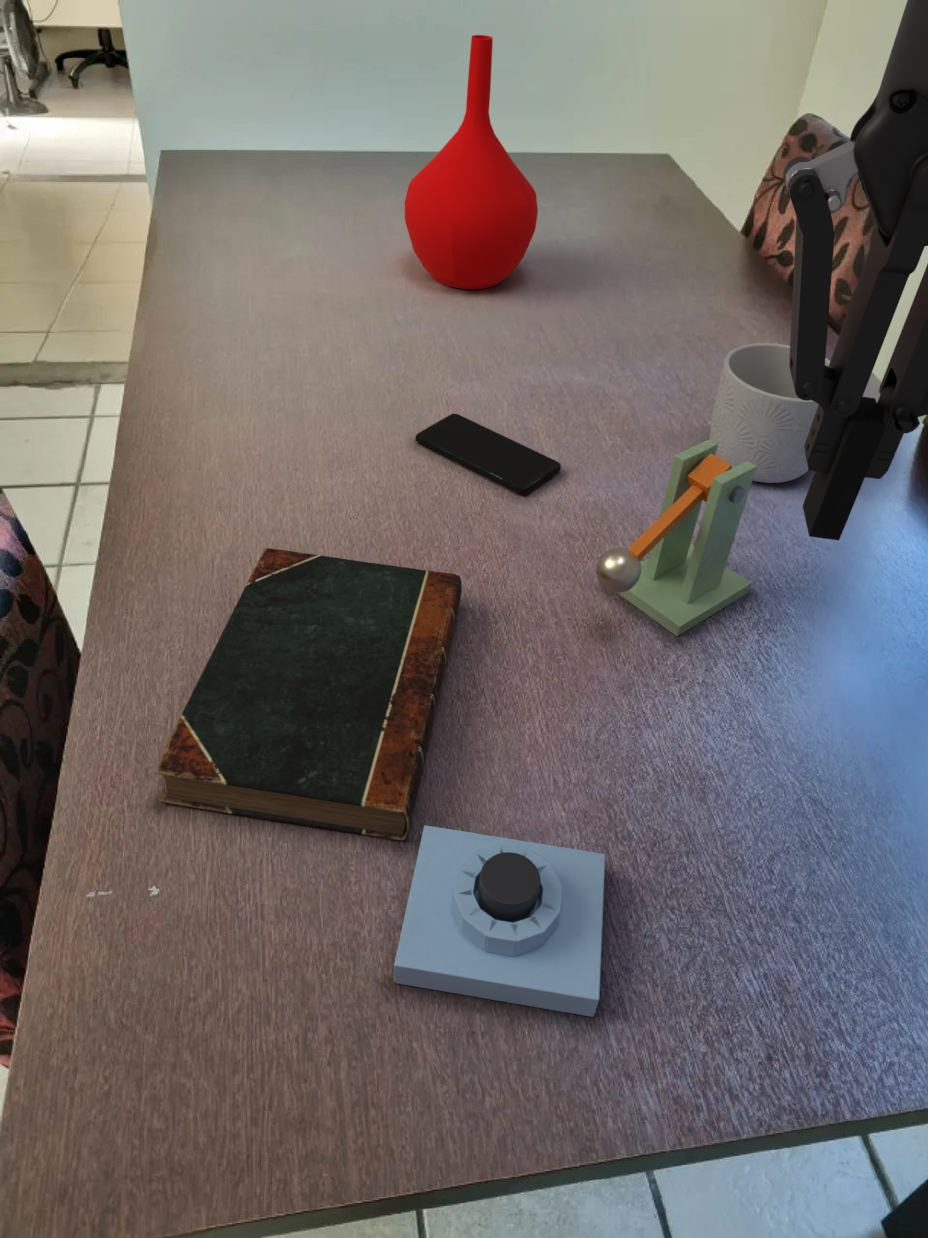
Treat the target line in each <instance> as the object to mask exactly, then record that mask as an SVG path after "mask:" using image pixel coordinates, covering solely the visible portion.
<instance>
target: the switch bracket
mask: <svg viewBox="0 0 928 1238" xmlns="http://www.w3.org/2000/svg"><path fill="white" fill-rule="evenodd" d="M717 446H718V444H717V443H715V442H713V441H711V440H710V439H706V440H704V441H702V442H700V443H698V444H696V445H693V446H691V447H689V448H687V449H684V450H683V451H680V452H679V453H677V454H675V455H674V457H673V461H672V465H671V470H670V473H669V478H668V482H667V486H666V488H665V489H666V490H665V494H664V498H663V502H662V507H661V509H660V514H659V518H660V517H661V516H662V515H663V514H664V513H665V512H666V511H667V510H668V509H669V508H670V507H671V506H672V505H673V504H674V503H675V502H676V501H677V500H678V499H679V498H680V497H681V496H682V495H683V494H684V493H685V492H686V491H687V490H688V489H689V488H690V486H689V480H688V475H689V474H690V473H691V472H692V471H693V470H694V469H695V468H696V467H697V466H698V465H699V464H700V463H701V462H702V461H703V460H704V459H705V458H706V457H707V456H708V455H709V454H710V453H711V454H713V455H715V454H716V450H717ZM756 468H757V466H756V465H754V464H752V463H750V462H749V461H746V462H744V463H742V464H740V465H738V466H736V467H734V468H732V469H730V470H728V471H726V472H724V473H722V474H720V475H718V476H716V477H714V478H713V481H712V485H711V488H710V492H709V495H708V499H707V502H705V506H704V509H703V514H702V517H701V521H700V524H699V527H698V531H697V535H696V538H695V542H694V543H692V540H693V536H694V532H695V529H696V526H697V523H698V522H697V521H698V519H699V514H700V512H701V511H700V510H701V507H702V504H703V500H701V501H700V502H699V503H698V504H697V505H696V506H695V507H694V508H693V509H692V510H691V511H690V512H689V513H688V514H687V515H686V516H685V517H684V518H683V519H682V520H681V521H680V522H679V523H678V524H677V525H676V526H675V527H674V528H673V529H672V530H671V531H670V532H669V533H668V534H667V535H666V536H665V537H664V538H663V539H662V540H661V541H660V542H659V543H658V544H657V545H656V546H655V547H654V548H652V549H651V550H650V555H649V557H648V558H646V559H644V560H643V561H640V564H641V576H640V579H639V581H638V582H637V584H636V585H635V586H634V587H633V588H631V589H630V590H628V591H625V592H619V593H617V592H615V593H616V594H618V595H619V596H621V597H622V598H623V599H625V600H626V601H627V602H629V603H630V604H632V605H633V606H634V607H635V608H637V609H638V610H640V611H641V612H642V613H644V614H645V615H646V616H648V617H649V618H651V619H652V620H653V621H655V622H656V623H658V624H659V625H660V626H661V627H663V628H664V629H666V631H669V632H670V633H671V634H672V635H674V636H675V637H679V636H680V635H682V634H684V633H685V632H687V631H688V630H690V629H692V628H694V627H695V626H697V625H699V624H700V623H702V622H703V621H705V620H707V619H709V618H710V617H711V616H713V615H715V614H716V613H718V612H719V611H721V610H723V609H724V608H726V607H727V606H730V605H732V603H735V602H736V601H738V600H739V599H741V598H743V597H744V596H745V595H748V594H749V593H750V591H751V590H750V589H751V587H752V585H753V582H752V581H751V580H749V579H747V578H746V577H744V576H742V575H741V574H739V573H738V572H736V571H735V570H733V569H731V568H730V567H729V566H727V562H728V560H729V557H730V554H731V550H732V546H733V543H734V541H735V537H736V534H737V530H738V528H739V525H740V521H741V518H742V515H743V512H744V509H745V506H746V502H747V499H748V497H749V492H750V490H751V486H752V483H753V481H752V480H753V477H754V474H755V471H756Z"/></svg>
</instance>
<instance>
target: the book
mask: <svg viewBox="0 0 928 1238" xmlns="http://www.w3.org/2000/svg"><path fill="white" fill-rule="evenodd" d="M462 585H463V584H462V579H461V577H460V576H459V575H458V574H456V573H454V572H453V573H452V572H443V571H436V570H435V571H434V570H428V569H427V570H426V569H419V568H413V567H405V566H397V565H391V564H384V563H375V562H367V561H362V560H354V559H347V558H340V557H333V556H327V555H320V554H315V553H314V554H313V553H306V552H300V551H294V550H293V551H292V550H286V549H280V548H279V549H278V548H271V547H266V548H264V549H263V551H262V553H261V555H260V557H259V559H258V561H257V562H256V565H255V566H254V569H253V571H252V572H251V575H250V576H249V578H248V580H247V582H246V585H245V586H244V589H243V590H242V593H241V594H240V597H239V598H238V600H237V602H236V604H235V606H234V608H233V610H232V613H231V614H230V615H229V618H228V620H227V623H226V625H225V626H224V628H223V630H222V632H221V635H220V636H219V638H218V641H217V642H216V645H215V647H214V648H213V650H212V652H211V655H210V657H209V659H208V661H207V663H206V664H205V666H204V669H203V670H202V672H201V674H200V677H199V679H198V680H197V683H196V684H195V686H194V688H193V691H192V692H191V695H190V696H189V699H188V701H187V703H186V705H185V707H184V709H183V710H182V713H181V715H180V716H179V718H178V721H177V723H176V725H175V726H174V729H173V731H172V732H171V735H170V737H169V739H168V740H167V743H166V745H165V747H164V750H163V751H162V754H161V756H160V759H159V760H158V763H157V765H156V768H155V772H154V774H155V775H160V776H162V777H163V778H164V782H165V790H164V793H163V795H162V796H161V799H160V803H163V804H167V805H175V806H183V807H189V808H195V809H201V810H207V811H212V812H220V813H225V814H231V815H237V816H244V817H250V818H255V819H262V820H268V821H274V822H280V823H285V824H293V825H300V826H307V827H313V828H314V827H315V828H319V829H320V828H321V829H327V830H334V831H340V832H346V833H352V834H358V835H359V834H360V835H366V836H372V837H378V838H382V839H388V840H391V841H392V840H395V841H405V840H406V838H407V837H408V834H409V829H410V825H411V821H412V816H413V811H414V807H415V803H416V798H417V795H418V790H419V785H420V781H421V776H422V772H423V767H424V762H425V759H426V754H427V750H428V745H429V741H430V737H431V732H432V727H433V723H434V720H435V715H436V711H437V707H438V706H437V705H438V702H439V696H440V692H441V687H442V683H443V679H444V674H445V670H446V665H447V662H448V661H447V660H448V657H449V652H450V647H451V643H452V640H453V639H452V638H453V634H454V629H455V626H456V621H457V616H458V613H459V607H460V602H461V598H462V593H463V586H462Z"/></svg>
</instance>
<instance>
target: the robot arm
mask: <svg viewBox="0 0 928 1238" xmlns="http://www.w3.org/2000/svg"><path fill="white" fill-rule="evenodd" d="M879 86H880V87H879V89H878V91H877V94H876V95H875V97H874V99H873V101H872V103H871V104H870V106H869V107H868V108H867V110H866V111H865V112H864V113H863V114H862V115H861V117H859V119H858V120H857V121H856V123H855V125H854V126H853V128H852V130H851V134H850V138H849V141H847V142H845V143H843V144H841V145H839V146H837V147H835V148H833V149H831V150H828V151H827V152H825V153H823V154H821V155H819V156H817V157H814V158H813V159H809V158H808V157H806V156H797V157H793V158H792V159H790V160H789V161H788V162H787V163H786V165H785V166H784V169H783V172H782V176H783V181H784V184H785V187H786V190H787V192H788V195H789V198H790V201H791V204H792V207H793V210H794V214H795V216H796V219H795V241H794V258H793V260H794V261H793V277H792V279H793V280H792V297H791V299H792V300H791V318H790V319H791V320H790V338H789V339H790V341H789V346H790V359H789V367H790V373H791V377H792V381H793V385H794V389H795V393H796V395H797V397H798V398H800V399H802V400H807V401H809V400H812V401H814V402H816V403H818V404H819V405H818V408H817V411H816V414H815V416H814V419H813V422H812V425H811V429H810V431H809V434H808V437H807V439H806V442H805V445H804V449H805V456H806V461H807V465H808V469H809V470H808V471H809V472H814V474H813V477H812V479H811V482H810V485H809V487H808V490H807V493H806V496H805V499H804V501H803V504H802V510H803V514H804V519H805V523H806V529H807V533H808V537H810V538H817V539H826V540H831V541H833V540H834V541H840V539H841V538H842V535H843V532H844V530H845V527H846V526H847V525H846V524H847V522H848V520H849V517H850V515H851V513H852V510H853V507H854V505H855V503H856V501H857V498H858V496H859V493H860V491H861V488H862V486H863V484H864V481H865V478H868V479H876V480H881V478H883V477H884V476H885V475H886V474H887V472H888V471H889V469H890V468H891V465H892V463H893V460H894V458H895V455H896V453H897V451H898V449H899V446H900V444H901V442H902V439H903V437H904V435H905V434H910V433H912V432H914V431H915V430H916V429H918V428H919V426H920V425H921V423H920V420H919V418H920V417H923V416H928V263H927V264H926V267H925V270H924V272H923V274H922V277H921V279H920V282H919V285H918V288H917V290H916V293H915V294H914V297H913V300H912V303H911V305H910V308H909V311H908V313H907V316H906V318H905V321H904V323H903V326H902V328H901V331H900V333H899V336H898V339H897V341H896V344H895V346H894V348H893V352H892V354H891V356H890V360H889V362H888V364H887V366H886V370H885V372H884V374H883V378H882V379H881V382H880V384H879V388H878V393H879V397H878V400H876V398H875V397H868V396H864V394H865V391H866V389H867V386H868V384H869V381H870V379H871V376H872V373H873V371H874V368H875V365H876V363H877V360H878V358H879V355H880V352H881V350H882V347H883V345H884V342H885V340H886V337H887V335H888V332H889V329H890V326H891V323H892V321H893V319H894V316H895V313H896V311H897V308H898V305H899V303H900V300H901V298H902V295H903V292H904V290H905V287H906V285H907V282H908V280H909V277H910V275H911V274H913V273H914V272H915V271H916V270H917V267H918V265H919V262H920V260H921V257H922V255H923V253H924V250H925V247H928V0H907V1H906V4H905V6H904V10H903V13H902V16H901V19H900V22H899V24H898V28H897V32H896V35H895V38H894V41H893V45H892V47H891V50H890V54H889V57H888V59H887V63H886V66H885V69H884V73H883V76H882V79H881V83H880V85H879ZM856 175H858V179H859V182H860V183H861V187H862V190H863V194H864V196H865V199H866V201H867V204H868V207H869V210H870V212H871V215H872V218H873V220H874V222H875V223H874V226H873V228H872V231H871V235H870V240H869V249H868V252H867V255H866V258H865V261H864V265H863V267H862V270H861V273H860V276H859V278H858V282H857V284H856V288H855V290H854V293H853V296H852V298H851V301H850V304H849V307H848V310H847V313H846V316H845V319H844V322H843V325H842V327H841V330H840V333H839V335H838V339H837V342H836V344H835V346H834V347H835V348H834V349H833V352H832V356H831V358H830V364H829V367H828V366H826V365H825V358H827V357H826V355H827V342H828V341H827V340H828V327H829V318H830V317H829V316H830V315H829V314H830V303H831V302H830V301H831V289H832V288H831V287H832V275H833V262H834V250H835V248H834V247H835V229H834V221H833V217H832V215H833V214H834V213H836V212H838V211H839V210H841V209H842V208H843V207H844V206H845V204H846V203H847V199H848V187H849V183H850V182H851V180H852V178H853V177H855V176H856Z"/></svg>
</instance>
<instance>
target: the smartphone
mask: <svg viewBox="0 0 928 1238" xmlns="http://www.w3.org/2000/svg"><path fill="white" fill-rule="evenodd" d="M415 442H416V443H417V444H420V445H421V446H423V447H425V448H427V449H428V450H430V451H433V452H435V453H437V454H439V455H441V456H443V457H445V458H447V459H449V460H451V461H453V462H455V463H457V464H458V465H460V466H463V467H465V468H466V469H469V470H471V471H472V472H475V473H476V474H479V475H481V476H483V477H485V478H487V479H489V480H490V481H493V482H494V483H497V484H498V485H500V486H502V487H504V488H506V489H508V490H511V491H512V492H514V493H515V494H517V495H521V496H525V495H527V494H529V493H530V492H532V491H533V490H535V489H536V488H538V487H539V486H540V485H542V484H543V483H545V482H546V481H547V480H549V479H550V478H552V477H553V476H554V475H556V474H557V473H558V472H560V471H561V468H562V466H561V465H562V464H561V463H560V462H559V461H557V460H555V459H553V458H551V457H549V456H547V455H545V454H542V453H540V452H538V451H537V450H534V449H532V448H530V447H528V446H526V445H524V444H521V443H519V442H517V441H515V440H513V439H511V438H509V437H507V436H505V435H502V434H501V433H498V432H496V431H494V430H492V429H490V428H489V427H486V426H484V425H483V424H482V425H481V424H480V423H477V422H476V421H473V420H471V419H469V418H467V417H465V416H462V415H460V414H458V413H451V414H449V415H447V416H446V417H444V418H442V419H440V420H438V421H437V422H435V423H433V424H431V425H430V426H428V427H426V428H424V429H423V430H421V431H420V432H418V433H417V434H415Z"/></svg>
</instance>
